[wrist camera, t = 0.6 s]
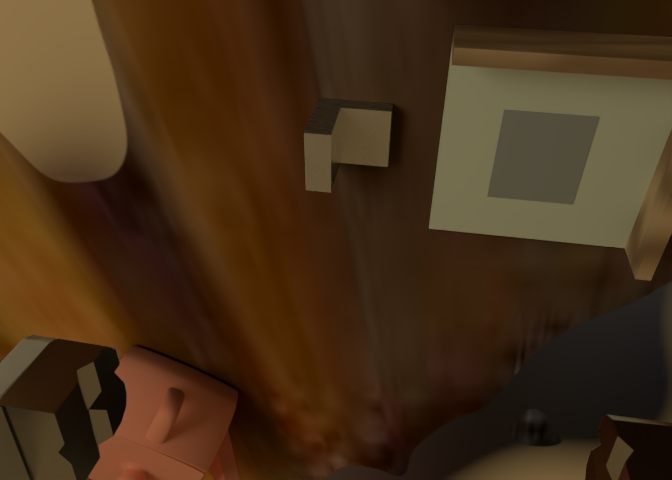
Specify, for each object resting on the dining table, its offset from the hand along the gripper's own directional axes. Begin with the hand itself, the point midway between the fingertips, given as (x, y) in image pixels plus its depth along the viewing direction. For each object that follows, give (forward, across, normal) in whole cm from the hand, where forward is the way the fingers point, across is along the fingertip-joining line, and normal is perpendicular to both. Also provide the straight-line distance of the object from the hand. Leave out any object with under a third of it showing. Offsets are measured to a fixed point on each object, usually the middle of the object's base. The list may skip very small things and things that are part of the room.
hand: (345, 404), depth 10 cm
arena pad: (+40, -10, +11) cm, 43 cm away
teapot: (+44, +26, +50) cm, 72 cm away
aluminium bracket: (+40, +5, +11) cm, 42 cm away
